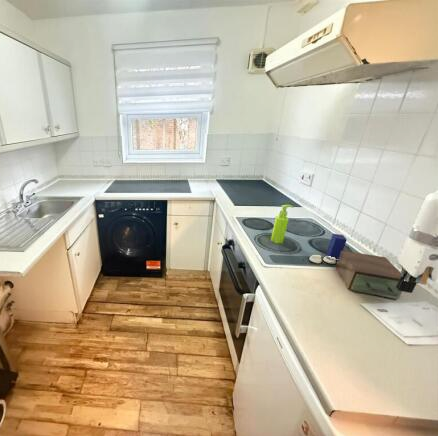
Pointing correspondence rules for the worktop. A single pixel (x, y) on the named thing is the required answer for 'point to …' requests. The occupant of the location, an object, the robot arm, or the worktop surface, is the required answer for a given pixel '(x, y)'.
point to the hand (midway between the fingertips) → (403, 290)
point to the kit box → (336, 245)
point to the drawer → (376, 285)
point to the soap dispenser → (280, 225)
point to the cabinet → (364, 267)
